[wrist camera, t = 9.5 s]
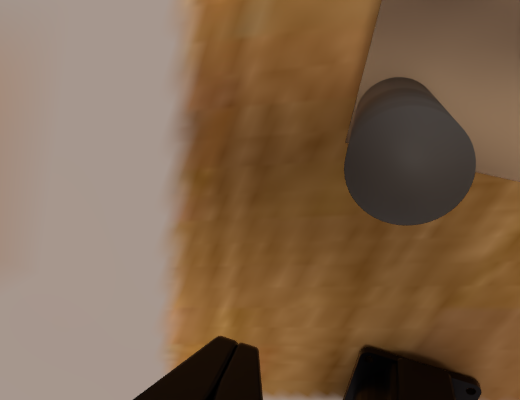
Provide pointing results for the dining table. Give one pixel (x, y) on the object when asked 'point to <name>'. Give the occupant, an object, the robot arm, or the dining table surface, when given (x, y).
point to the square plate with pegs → (435, 107)
